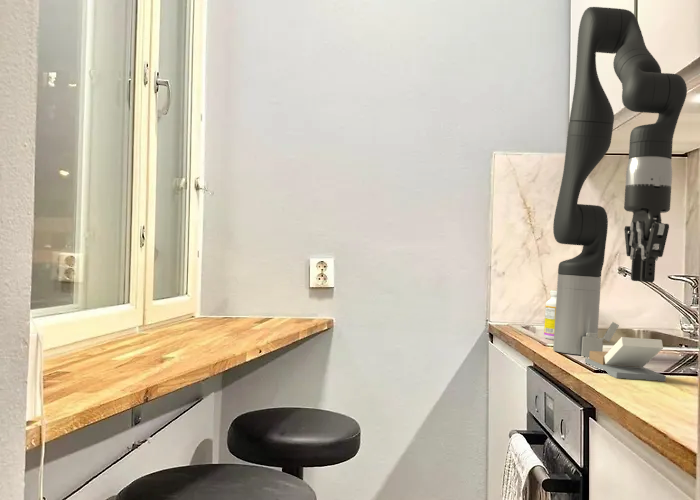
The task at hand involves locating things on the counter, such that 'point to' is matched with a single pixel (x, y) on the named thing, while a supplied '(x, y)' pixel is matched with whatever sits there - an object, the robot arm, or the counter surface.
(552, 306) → the supplement bottle
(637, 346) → the board
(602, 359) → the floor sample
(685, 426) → the counter surface
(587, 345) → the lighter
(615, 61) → the robot arm
